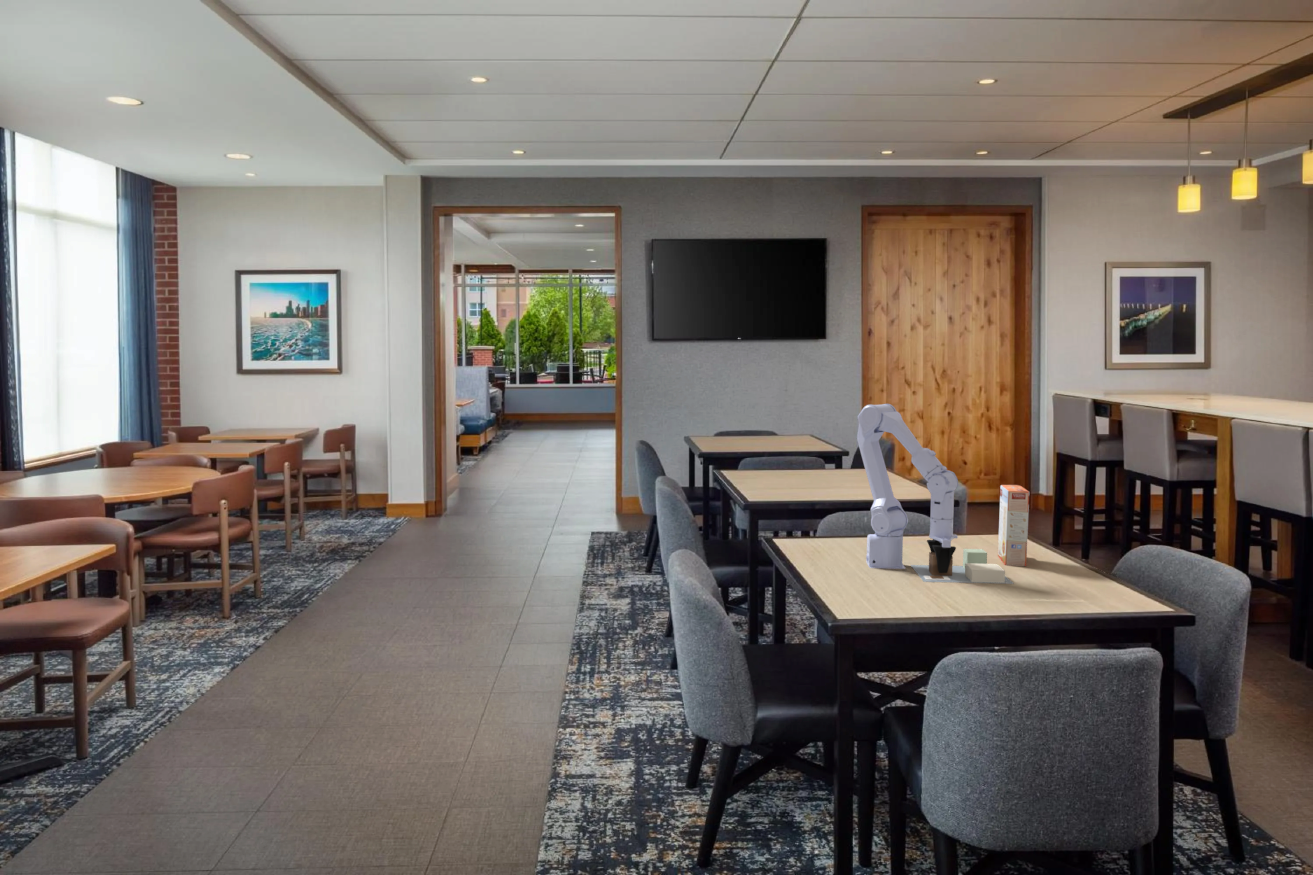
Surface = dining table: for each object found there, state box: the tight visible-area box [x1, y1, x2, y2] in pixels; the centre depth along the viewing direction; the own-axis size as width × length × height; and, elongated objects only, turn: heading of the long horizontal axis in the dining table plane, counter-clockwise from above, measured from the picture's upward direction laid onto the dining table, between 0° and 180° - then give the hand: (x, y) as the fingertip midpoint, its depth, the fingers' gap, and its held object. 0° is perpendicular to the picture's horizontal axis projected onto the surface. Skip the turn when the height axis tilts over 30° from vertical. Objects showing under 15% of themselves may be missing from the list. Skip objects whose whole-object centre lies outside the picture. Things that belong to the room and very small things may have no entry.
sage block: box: [962, 548, 988, 569], centre depth 260 cm, size 5×5×5 cm
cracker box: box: [997, 484, 1030, 567], centre depth 271 cm, size 14×6×21 cm, turn 168°
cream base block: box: [965, 563, 1006, 582], centre depth 249 cm, size 8×8×3 cm
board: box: [910, 564, 1014, 585], centre depth 255 cm, size 22×20×1 cm
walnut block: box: [928, 551, 954, 576], centre depth 255 cm, size 5×5×5 cm
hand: (940, 569), depth 255 cm, fingers open, 6 cm apart
